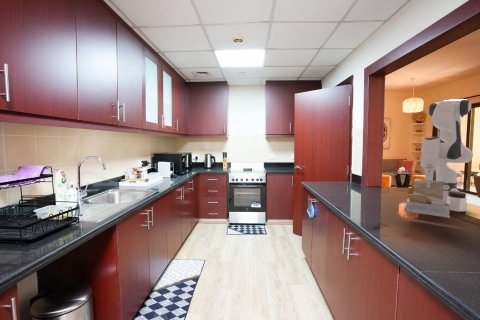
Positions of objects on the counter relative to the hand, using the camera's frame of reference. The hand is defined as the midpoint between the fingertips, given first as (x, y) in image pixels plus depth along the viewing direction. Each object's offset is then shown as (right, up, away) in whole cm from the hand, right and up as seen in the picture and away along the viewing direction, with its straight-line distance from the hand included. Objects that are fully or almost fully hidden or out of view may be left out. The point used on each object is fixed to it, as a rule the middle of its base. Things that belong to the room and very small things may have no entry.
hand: (428, 186), depth 145 cm
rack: (-2, -16, -1) cm, 16 cm away
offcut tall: (-6, -14, +1) cm, 15 cm away
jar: (+19, -16, +3) cm, 25 cm away
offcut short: (+1, -15, -5) cm, 15 cm away
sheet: (0, -14, +1) cm, 14 cm away
